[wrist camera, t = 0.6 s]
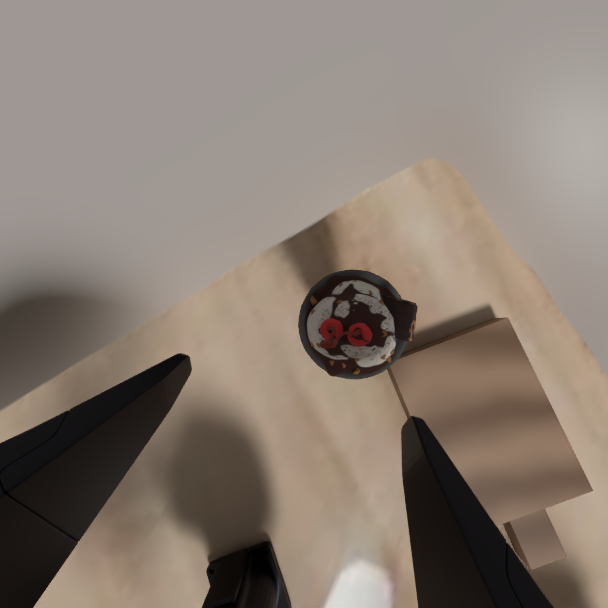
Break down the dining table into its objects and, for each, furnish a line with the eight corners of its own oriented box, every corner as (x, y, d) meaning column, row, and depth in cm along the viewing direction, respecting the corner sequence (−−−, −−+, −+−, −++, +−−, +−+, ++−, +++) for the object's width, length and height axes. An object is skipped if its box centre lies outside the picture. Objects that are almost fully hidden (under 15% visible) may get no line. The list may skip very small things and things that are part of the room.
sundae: (294, 337, 24) (258, 355, 9) (325, 282, 24) (338, 213, 10) (350, 369, 23) (409, 445, 8) (381, 312, 24) (489, 288, 9)
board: (595, 524, 21) (616, 539, 19) (470, 569, 21) (482, 587, 19) (495, 318, 23) (507, 317, 22) (383, 360, 23) (388, 363, 22)
